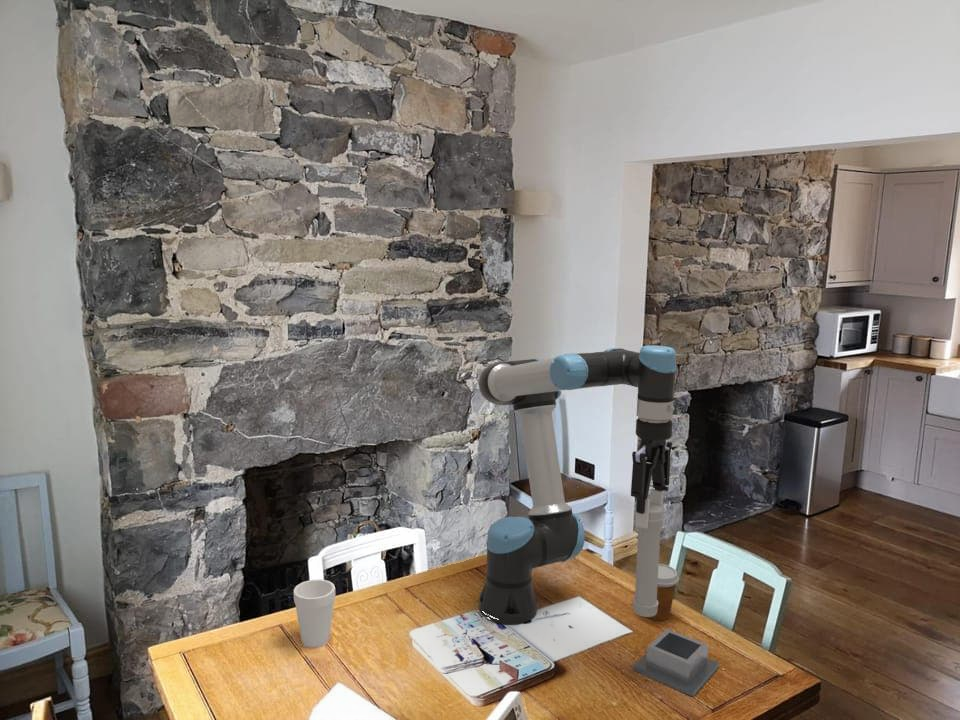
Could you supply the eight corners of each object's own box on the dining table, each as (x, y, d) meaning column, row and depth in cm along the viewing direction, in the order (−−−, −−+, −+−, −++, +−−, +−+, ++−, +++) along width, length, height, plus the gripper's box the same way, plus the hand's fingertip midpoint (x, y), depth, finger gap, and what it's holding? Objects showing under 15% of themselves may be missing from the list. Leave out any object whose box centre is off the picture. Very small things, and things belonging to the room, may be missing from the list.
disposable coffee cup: (669, 628, 175) (672, 583, 173) (632, 616, 180) (635, 573, 178) (680, 611, 183) (683, 568, 181) (644, 601, 188) (647, 559, 186)
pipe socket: (633, 670, 157) (634, 646, 156) (661, 644, 168) (662, 622, 167) (693, 697, 149) (695, 672, 148) (718, 667, 159) (720, 644, 158)
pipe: (658, 619, 153) (665, 487, 148) (628, 615, 155) (635, 484, 150) (657, 607, 158) (664, 479, 154) (629, 603, 160) (635, 476, 155)
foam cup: (343, 640, 166) (343, 589, 164) (310, 656, 160) (309, 603, 157) (320, 625, 173) (319, 575, 170) (287, 639, 166) (285, 588, 164)
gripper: (649, 429, 140) (643, 539, 144) (690, 414, 154) (683, 515, 158) (616, 423, 145) (611, 529, 149) (658, 409, 159) (653, 507, 163)
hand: (648, 522), depth 153 cm, fingers closed on pipe, 5 cm apart
